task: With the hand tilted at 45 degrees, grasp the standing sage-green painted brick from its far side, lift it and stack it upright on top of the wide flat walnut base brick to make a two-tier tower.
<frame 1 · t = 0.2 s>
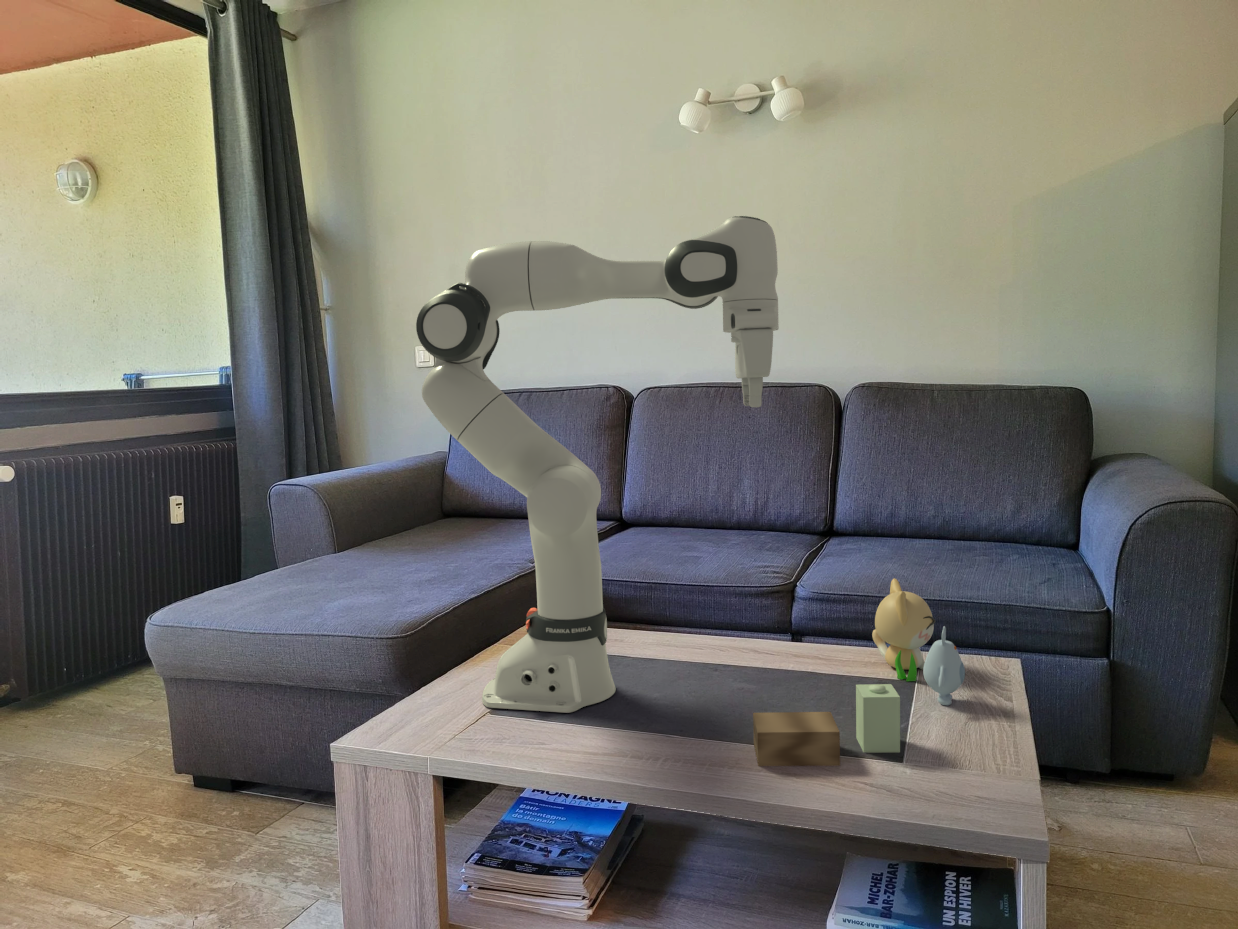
hand: (752, 406, 143), 48 cm above the table, tool pointing down, fingers open, 8 cm apart
kitten: (904, 669, 157), on the table
base brick: (795, 756, 123), on the table
toy figure: (943, 702, 141), on the table
green brick: (877, 745, 126), on the table
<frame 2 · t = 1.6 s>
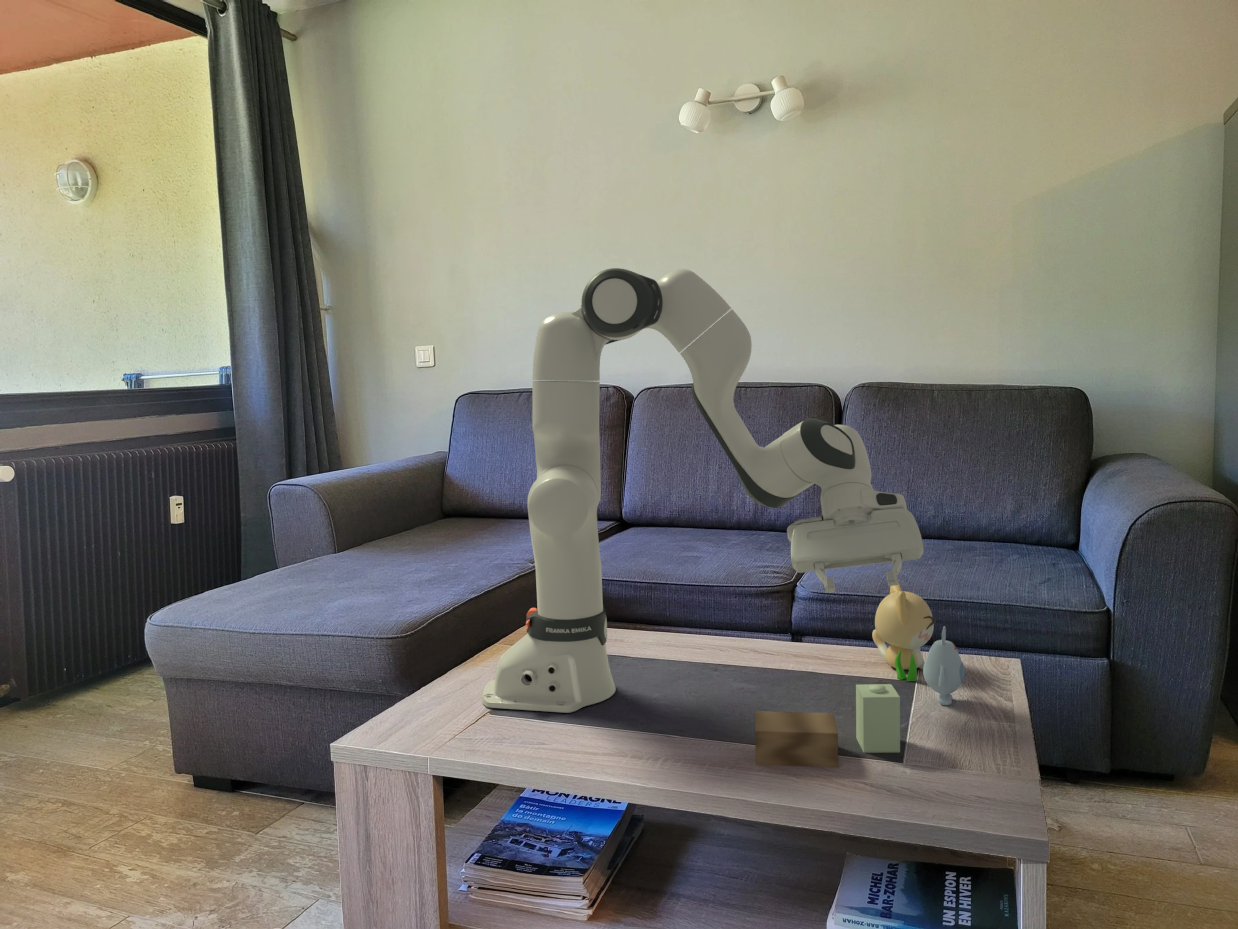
hand: (861, 587, 135), 20 cm above the table, tool tilted 45°, fingers open, 8 cm apart
nothing on the table moved.
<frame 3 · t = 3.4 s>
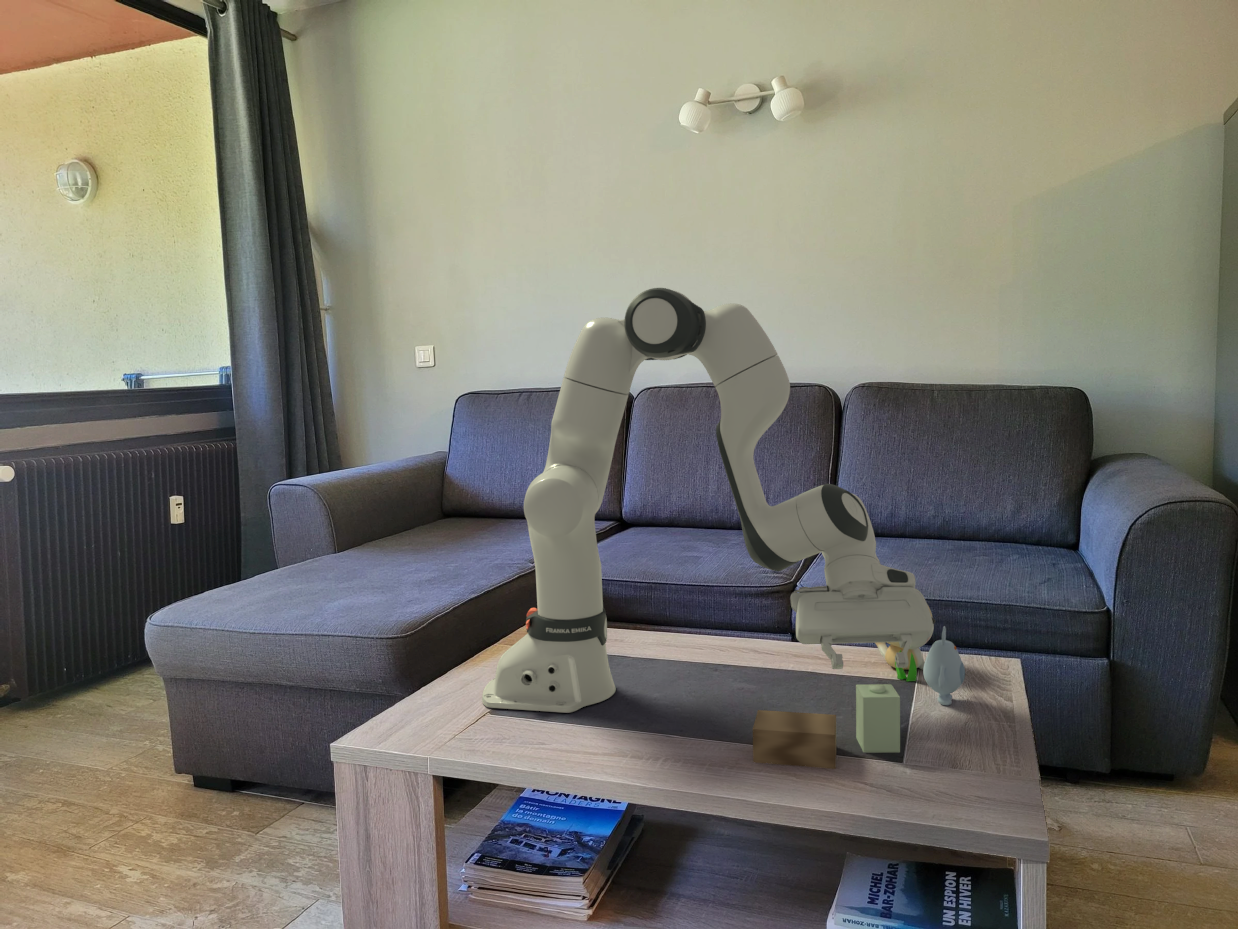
hand: (870, 666, 130), 9 cm above the table, tool tilted 45°, fingers open, 8 cm apart
nothing on the table moved.
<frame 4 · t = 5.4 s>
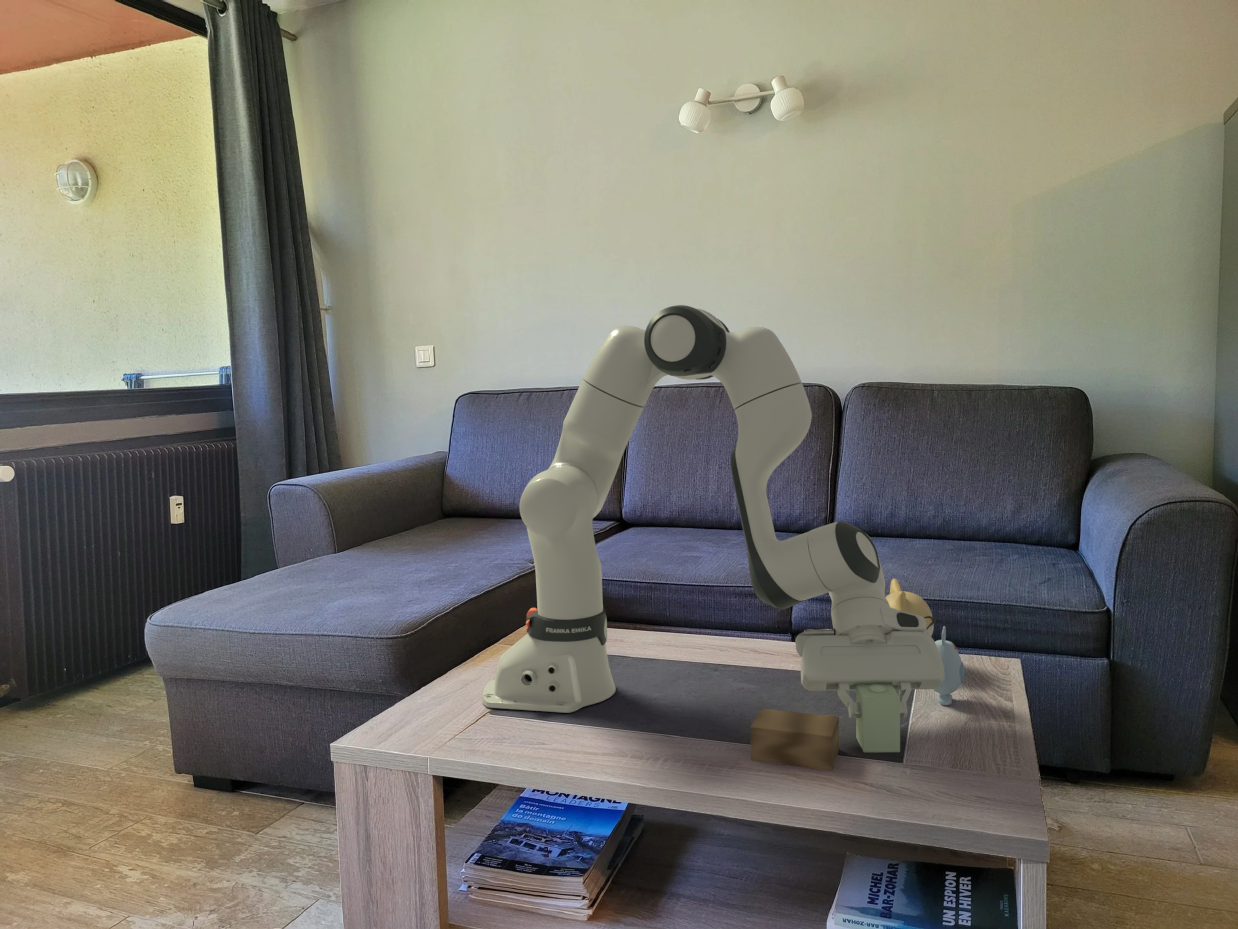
hand: (878, 716, 124), 4 cm above the table, tool tilted 45°, fingers closed on green brick, 5 cm apart
green brick: (877, 744, 126), on the table, touching gripper
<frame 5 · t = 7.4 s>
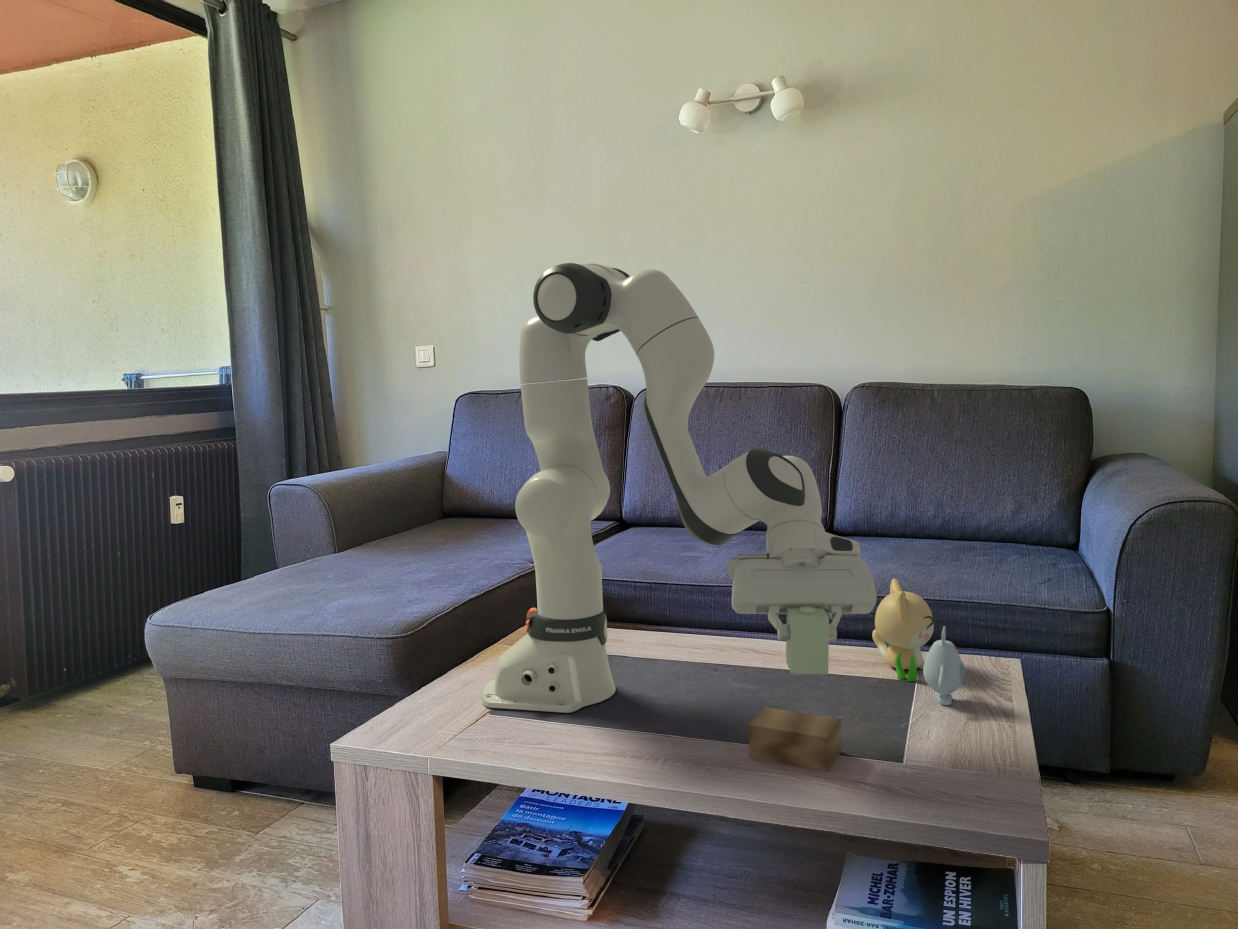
hand: (807, 638, 122), 17 cm above the table, tool tilted 45°, fingers closed on green brick, 5 cm apart
green brick: (806, 668, 123), point 12 cm above the table, touching gripper
when the fingers open (11 cm above the table, at t = 9.6 s): green brick drops 1 cm, resting on base brick.
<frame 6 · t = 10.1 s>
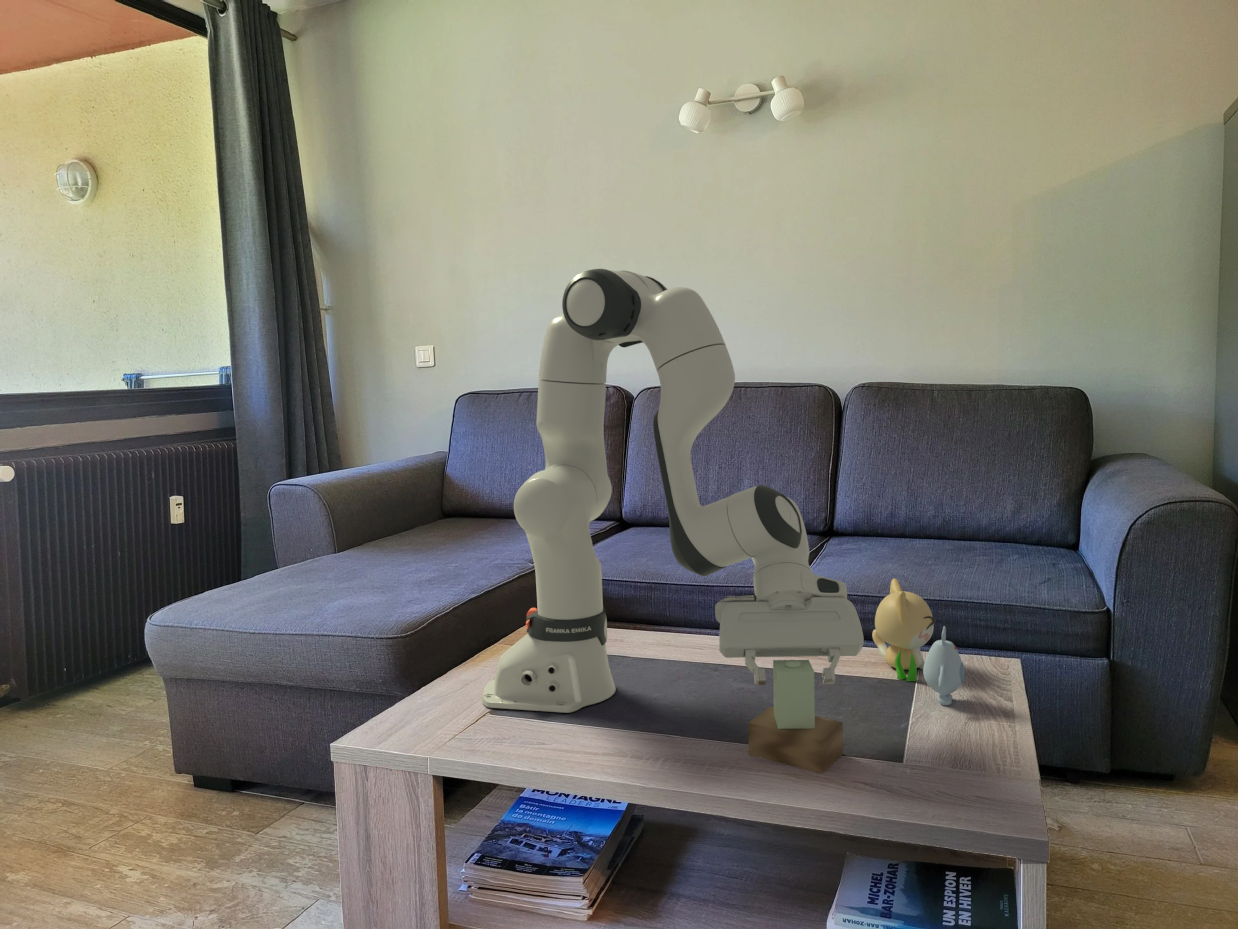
hand: (794, 683, 122), 11 cm above the table, tool tilted 45°, fingers open, 8 cm apart
base brick: (795, 756, 123), on the table, touching green brick
green brick: (793, 721, 123), point 5 cm above the table, touching base brick
everything else where it was.
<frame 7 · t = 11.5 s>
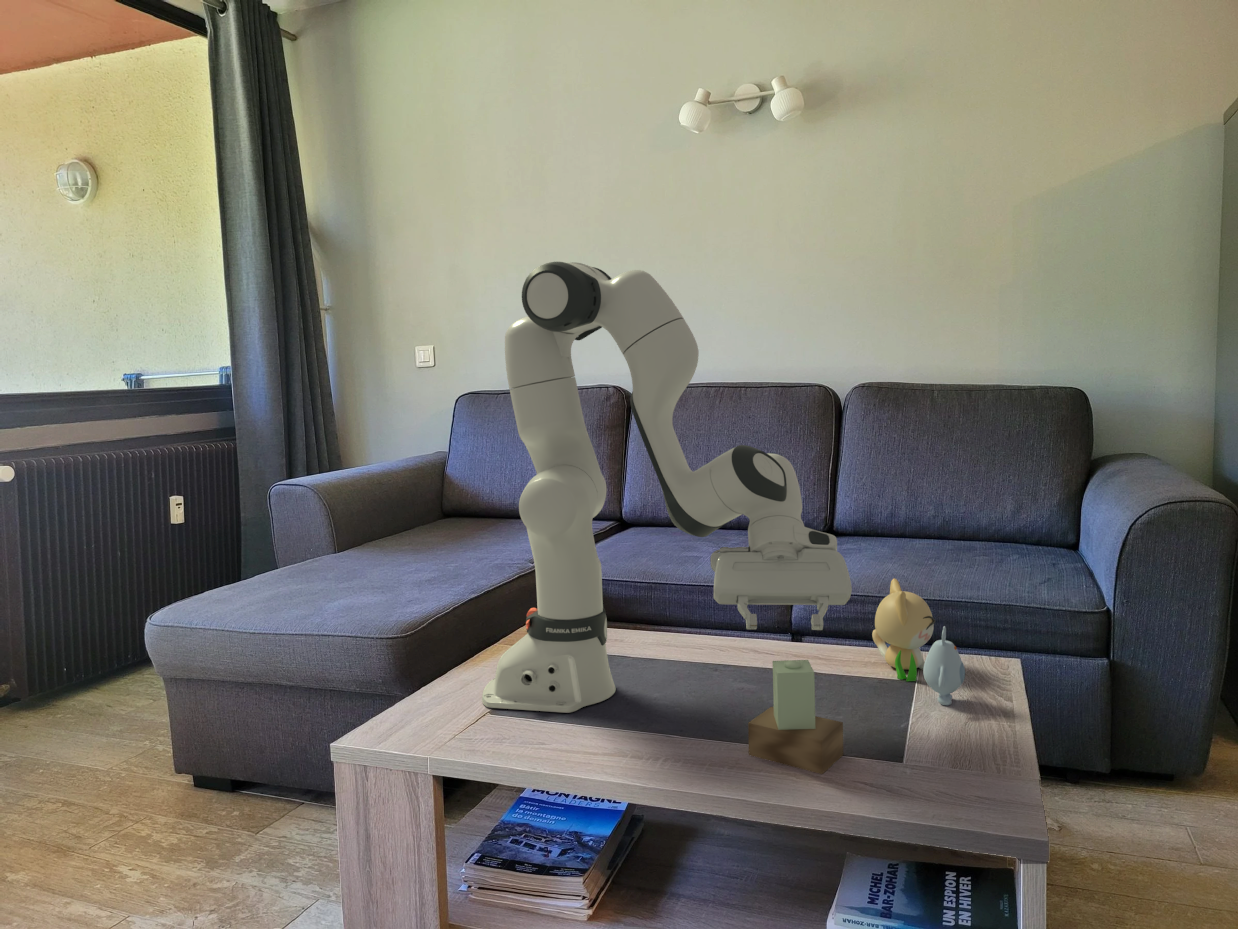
hand: (784, 628, 127), 16 cm above the table, tool tilted 45°, fingers open, 8 cm apart
base brick: (795, 757, 123), on the table
green brick: (794, 721, 123), point 5 cm above the table
everything else where it was.
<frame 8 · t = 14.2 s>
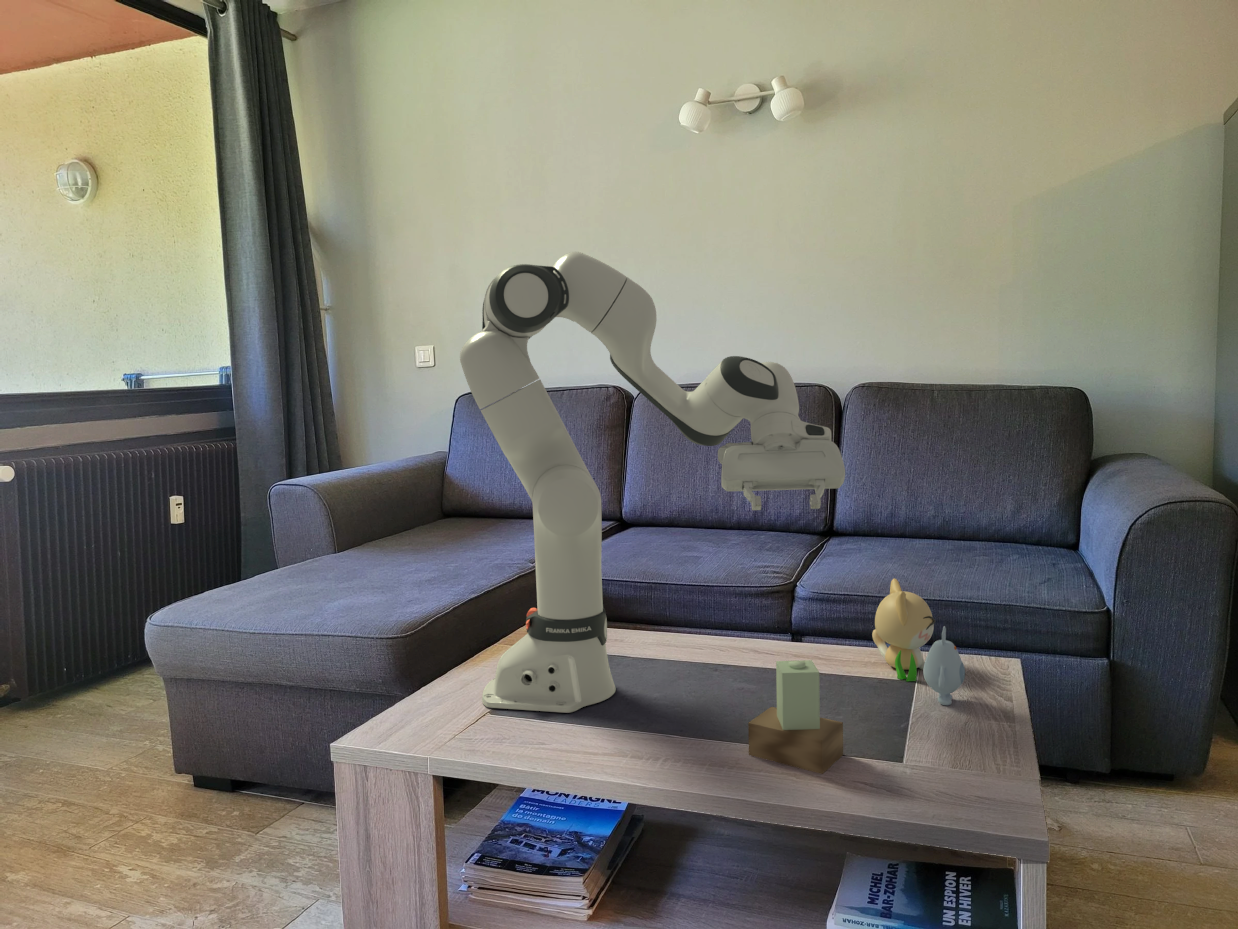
hand: (786, 507, 142), 31 cm above the table, tool tilted 45°, fingers open, 8 cm apart
nothing on the table moved.
at the end: green brick inside the target area on the base brick (0.3 cm from its centre), point 5.0 cm above the base brick's base; green brick tilted 0°; the gripper is holding nothing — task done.
